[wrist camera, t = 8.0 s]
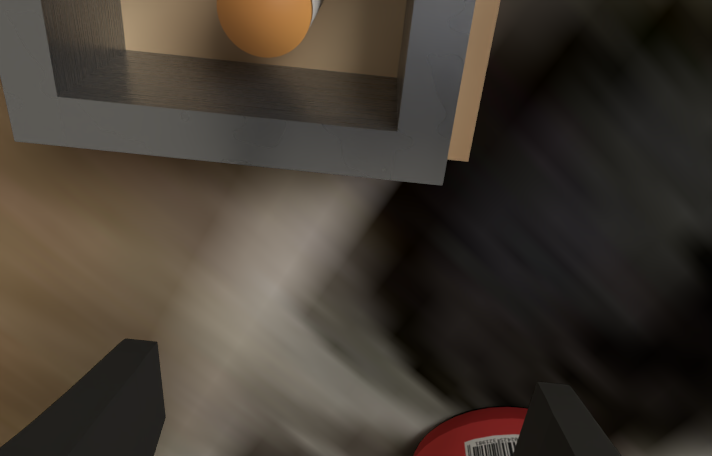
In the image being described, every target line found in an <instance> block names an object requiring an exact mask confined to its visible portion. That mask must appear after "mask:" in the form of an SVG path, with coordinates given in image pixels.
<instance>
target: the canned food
mask: <svg viewBox="0 0 712 456" xmlns="http://www.w3.org/2000/svg"><path fill="white" fill-rule="evenodd" d="M527 410H528V409H526V408H516V407H495V408H486V409H480V410H475V411H471V412H468V413H465V414H462V415H459V416H456V417H453V418H452V419H450V420H448V421H446V422H444V423H442V424H440V425H439V426H437V427H436V428H435V429H433V430H432V431H431V432H429V433H428V434H427V435H426V436H425V438H424V439H423V440H422V441H421V442H420V443H419V445H418V447H417V449H416V451H415V452H414V455H413V456H513V452H514V449H515V446H516V443H517V440H518V437H519V434H520V431H521V428H522V425H523V422H524V419H525V416H526V413H527Z"/></svg>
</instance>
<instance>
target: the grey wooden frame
mask: <svg viewBox="0 0 712 456" xmlns="http://www.w3.org/2000/svg"><path fill="white" fill-rule="evenodd" d="M475 2H476V0H407V1H406V9H405V17H404V25H403V33H402V41H401V49H400V57H399V66H398V74H397V78H395V77H386V76H376V75H366V74H356V73H347V72H337V71H327V70H317V69H308V68H298V67H288V66H278V65H269V64H259V63H249V62H239V61H230V60H220V59H210V58H200V57H191V56H181V55H171V54H162V53H152V52H142V51H132V50H126V47H125V37H124V28H123V19H122V10H121V1H120V0H0V77H1V81H2V86H3V90H4V95H5V99H6V104H7V108H8V113H9V118H10V122H11V127H12V131H13V136H14V140H15V141H17V142H27V143H36V144H46V145H56V146H65V147H75V148H85V149H94V150H104V151H114V152H123V153H133V154H143V155H153V156H162V157H172V158H182V159H191V160H201V161H211V162H220V163H230V164H240V165H249V166H259V167H269V168H278V169H288V170H298V171H308V172H317V173H327V174H337V175H346V176H356V177H366V178H375V179H385V180H395V181H404V182H414V183H424V184H433V185H443V180H444V174H445V169H446V163H447V158H448V152H449V146H450V141H451V135H452V130H453V124H454V119H455V113H456V108H457V102H458V96H459V91H460V85H461V80H462V74H463V69H464V63H465V58H466V52H467V46H468V41H469V35H470V30H471V24H472V19H473V13H474V8H475Z"/></svg>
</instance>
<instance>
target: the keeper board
mask: <svg viewBox="0 0 712 456" xmlns="http://www.w3.org/2000/svg"><path fill="white" fill-rule="evenodd" d="M120 1H121V10H122V19H123V28H124V37H125V47H126V50H132V51H142V52H152V53H162V54H171V55H181V56H191V57H200V58H210V59H220V60H230V61H239V62H249V63H259V64H269V65H278V66H288V67H298V68H308V69H317V70H327V71H337V72H347V73H356V74H366V75H376V76H386V77H395V78H397V74H398V66H399V57H400V49H401V41H402V33H403V25H404V17H405V9H406V1H407V0H120ZM499 4H500V0H476V2H475V8H474V13H473V19H472V24H471V30H470V35H469V41H468V46H467V52H466V58H465V63H464V69H463V74H462V80H461V85H460V91H459V96H458V102H457V108H456V113H455V119H454V124H453V130H452V135H451V141H450V146H449V152H448V158H447V159H448V160H458V161H467V162H468V159H469V154H470V149H471V144H472V139H473V134H474V129H475V124H476V119H477V114H478V109H479V104H480V99H481V94H482V89H483V84H484V79H485V74H486V69H487V64H488V59H489V54H490V49H491V44H492V39H493V34H494V29H495V24H496V19H497V14H498V9H499Z"/></svg>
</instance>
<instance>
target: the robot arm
mask: <svg viewBox="0 0 712 456" xmlns="http://www.w3.org/2000/svg"><path fill="white" fill-rule="evenodd" d="M164 421H165V408H164V399H163V390H162V380H161V371H160V362H159V353H158V344H157V342H153V341H144V340H134V339H124V340H123V341H122V342H120V343H119V344H118V345H117V346H116V347H115V348H114V349H113V350H111V351H110V352H109V353H108V354H107V355H106V356H105V357H104V358H103V359H102V360H101V361H100V362H99V363H97V364H96V365H95V366H94V367H93V368H92V369H91V370H90V371H89V372H88V373H87V374H86V375H84V376H83V377H82V378H81V379H80V380H79V381H78V382H77V383H76V384H75V385H73V386H72V387H71V388H70V389H69V390H68V391H67V392H66V393H65V394H63V395H62V396H61V397H60V398H59V399H58V400H57V401H55V402H54V403H53V404H52V405H51V406H50V407H49V408H47V409H46V410H45V411H44V412H43V413H42V414H41V415H39V416H38V417H37V418H36V419H35V420H34V421H32V422H31V423H30V424H29V425H28V426H27V427H25V428H24V429H23V430H22V431H20V432H19V433H18V434H17V435H15V436H14V437H13V438H12V439H10V440H9V441H8V442H7V443H5V444H4V445H3V446H2V447H0V456H154V453H155V450H156V447H157V444H158V440H159V437H160V434H161V430H162V427H163V424H164ZM513 456H621V455H620V453H619V452H618V451H617V449H616V448H615V447H614V445H613V444H612V442H611V441H610V440H609V438H608V437H607V436H606V434H605V433H604V432H603V430H602V429H601V427H600V426H599V425H598V423H597V422H596V421H595V419H594V418H593V416H592V415H591V414H590V412H589V411H588V409H587V408H586V407H585V405H584V404H583V403H582V401H581V400H580V398H579V397H578V396H577V394H576V393H575V392H574V390H573V389H572V388H571V386H570V385H565V384H555V383H546V382H537V383H536V386H535V389H534V392H533V395H532V398H531V401H530V404H529V407H528V410H527V413H526V416H525V419H524V422H523V425H522V428H521V431H520V434H519V437H518V440H517V443H516V446H515V449H514V452H513Z"/></svg>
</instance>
